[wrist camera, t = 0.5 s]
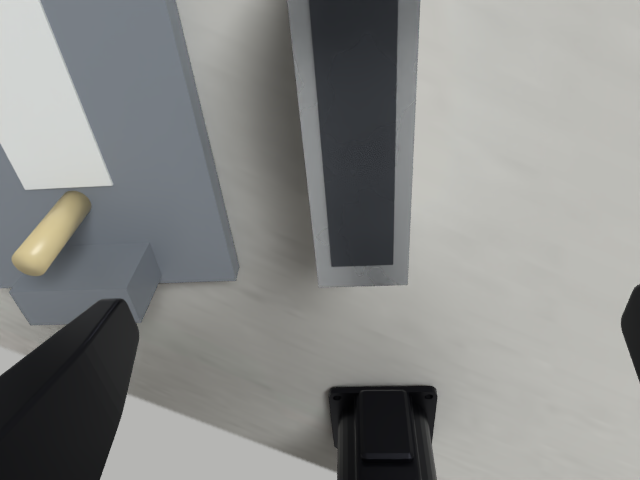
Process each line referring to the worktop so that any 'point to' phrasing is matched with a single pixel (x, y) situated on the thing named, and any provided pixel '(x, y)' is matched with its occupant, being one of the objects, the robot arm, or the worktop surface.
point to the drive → (357, 133)
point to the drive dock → (103, 159)
